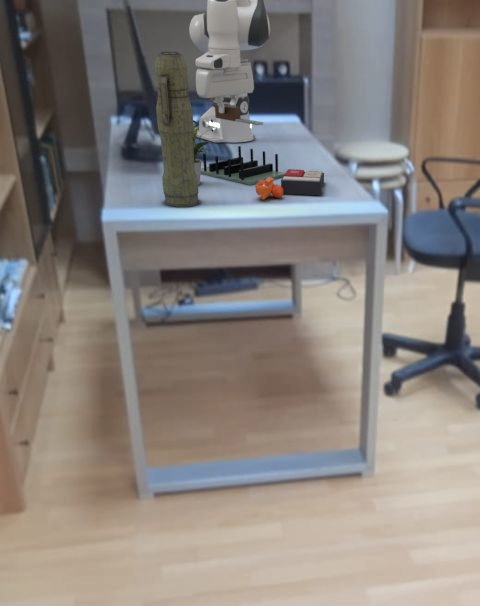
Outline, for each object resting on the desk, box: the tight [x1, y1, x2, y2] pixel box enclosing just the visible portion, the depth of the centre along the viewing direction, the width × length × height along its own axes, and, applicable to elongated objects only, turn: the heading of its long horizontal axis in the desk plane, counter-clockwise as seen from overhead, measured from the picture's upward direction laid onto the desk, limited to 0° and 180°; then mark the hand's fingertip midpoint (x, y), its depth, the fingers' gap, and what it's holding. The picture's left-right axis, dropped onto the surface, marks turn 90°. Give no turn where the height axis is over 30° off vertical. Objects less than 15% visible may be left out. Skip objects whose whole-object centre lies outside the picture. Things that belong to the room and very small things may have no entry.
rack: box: [200, 145, 286, 186], centre depth 231 cm, size 22×16×6 cm
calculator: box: [280, 168, 325, 196], centre depth 220 cm, size 11×4×15 cm
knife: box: [215, 105, 264, 126], centre depth 226 cm, size 17×2×4 cm, turn 54°
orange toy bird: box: [255, 177, 284, 201], centre depth 210 cm, size 5×8×12 cm
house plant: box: [192, 126, 214, 186], centre depth 215 cm, size 14×14×16 cm
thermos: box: [154, 51, 200, 208], centre depth 194 cm, size 9×12×35 cm
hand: (227, 112), depth 228 cm, fingers closed on knife, 2 cm apart
